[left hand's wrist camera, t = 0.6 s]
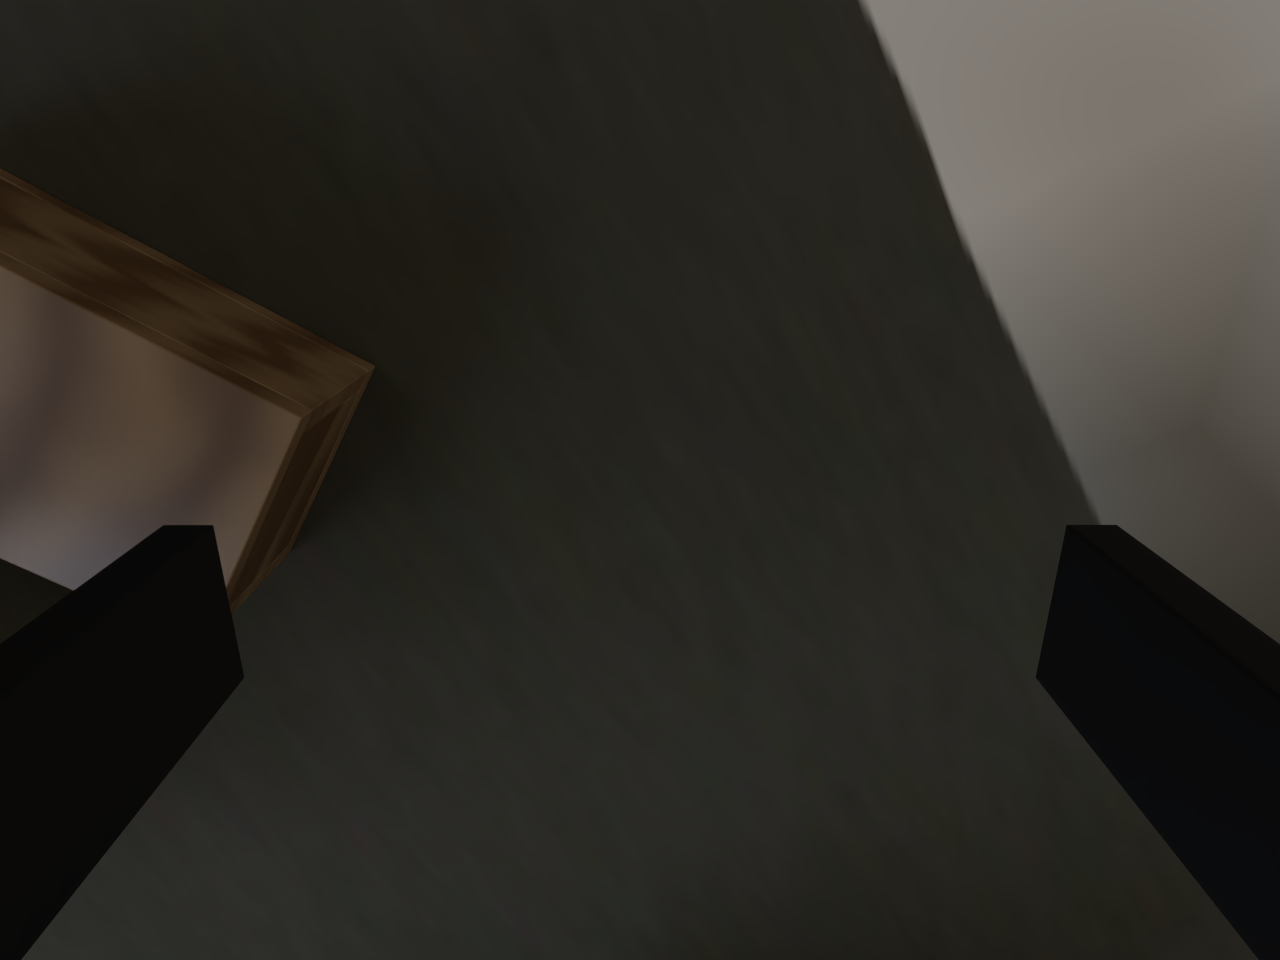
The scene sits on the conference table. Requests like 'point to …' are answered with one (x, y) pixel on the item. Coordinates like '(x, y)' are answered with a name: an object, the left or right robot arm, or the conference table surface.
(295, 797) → the conference table surface
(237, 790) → the conference table surface
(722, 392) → the conference table surface
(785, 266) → the conference table surface
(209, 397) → the cabinet
